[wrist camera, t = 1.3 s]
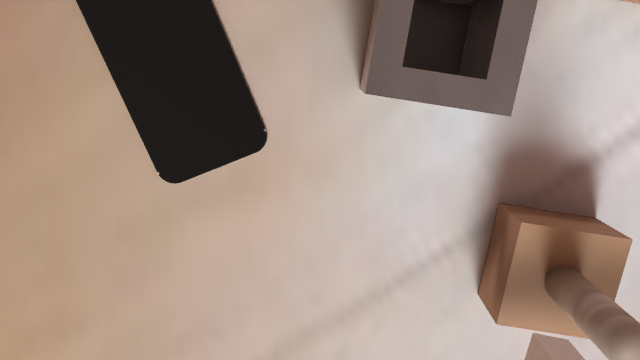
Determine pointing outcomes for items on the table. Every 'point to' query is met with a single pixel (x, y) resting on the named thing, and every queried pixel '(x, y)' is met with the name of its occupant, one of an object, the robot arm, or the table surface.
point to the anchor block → (635, 0)
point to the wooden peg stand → (559, 278)
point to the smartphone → (178, 82)
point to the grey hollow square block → (476, 64)
